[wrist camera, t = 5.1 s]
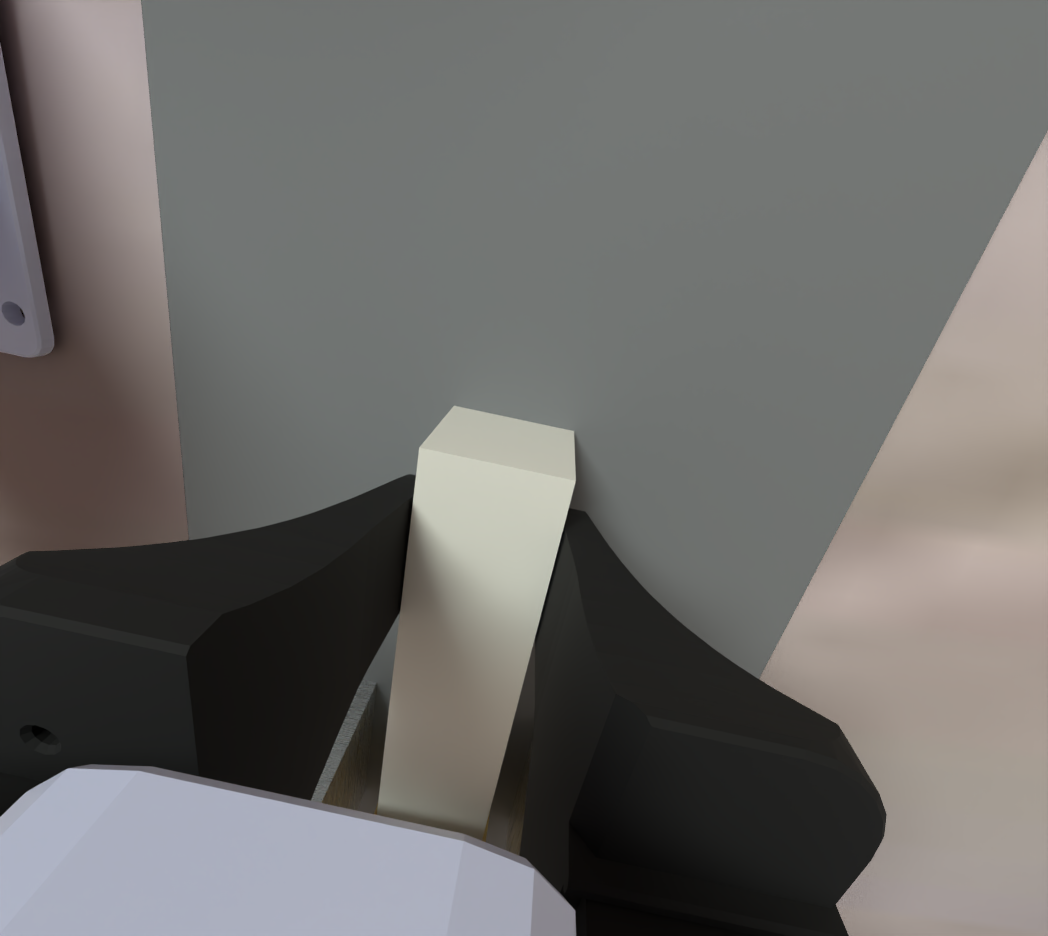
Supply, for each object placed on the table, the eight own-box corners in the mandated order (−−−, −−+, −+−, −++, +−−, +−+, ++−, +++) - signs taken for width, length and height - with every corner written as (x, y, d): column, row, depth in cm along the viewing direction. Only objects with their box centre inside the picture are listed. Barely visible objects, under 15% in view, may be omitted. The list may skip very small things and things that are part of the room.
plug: (449, 404, 11) (410, 450, 8) (578, 432, 11) (581, 486, 8) (391, 831, 17) (357, 938, 15) (473, 849, 17) (455, 959, 15)
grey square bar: (214, 647, 15) (50, 822, 10) (701, 753, 15) (762, 977, 10) (222, 758, 17) (89, 946, 12) (651, 851, 17) (684, 1077, 12)
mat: (141, -207, 8) (120, -231, 8) (1097, -1, 8) (1123, -14, 8) (232, 949, 22) (226, 961, 22) (570, 1023, 22) (570, 1036, 22)
